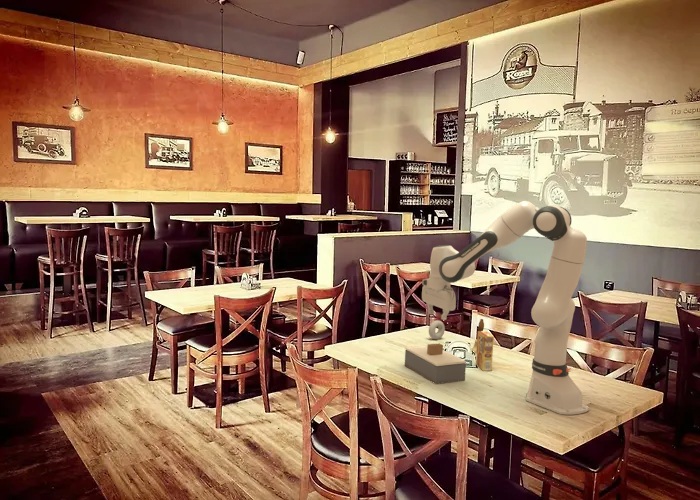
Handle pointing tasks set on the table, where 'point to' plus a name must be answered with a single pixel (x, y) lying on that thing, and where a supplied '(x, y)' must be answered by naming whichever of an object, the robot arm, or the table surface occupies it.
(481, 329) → the hand bell
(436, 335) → the donut
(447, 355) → the lid
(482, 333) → the candy box
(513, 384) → the table surface
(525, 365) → the table surface
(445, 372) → the storage box
